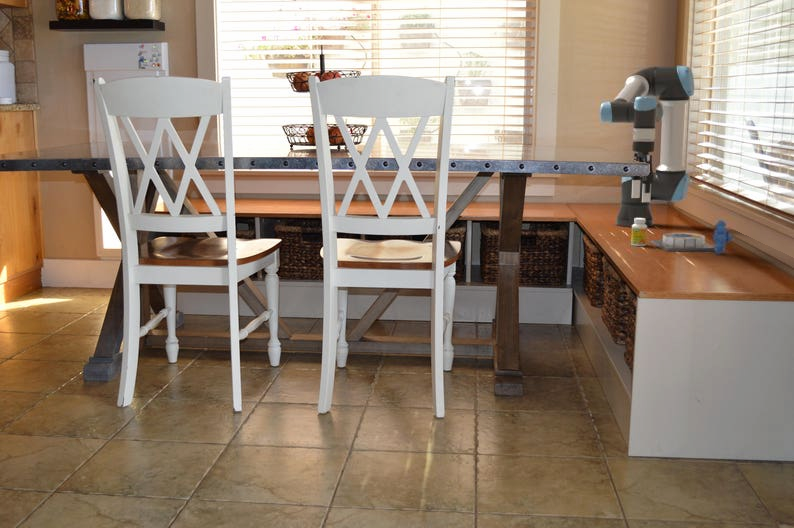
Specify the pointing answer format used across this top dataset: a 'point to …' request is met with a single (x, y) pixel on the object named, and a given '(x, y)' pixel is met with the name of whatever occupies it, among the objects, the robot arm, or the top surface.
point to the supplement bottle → (639, 232)
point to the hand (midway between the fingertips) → (640, 200)
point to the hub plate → (683, 242)
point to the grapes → (721, 237)
